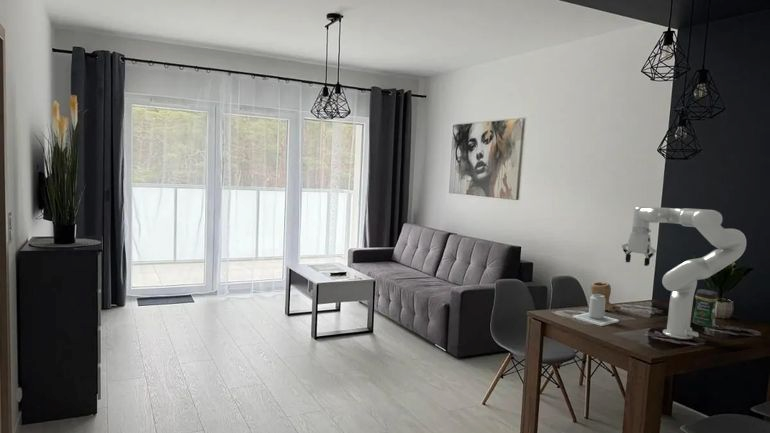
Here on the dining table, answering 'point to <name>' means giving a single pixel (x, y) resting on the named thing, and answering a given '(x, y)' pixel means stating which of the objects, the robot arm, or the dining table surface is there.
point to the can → (597, 306)
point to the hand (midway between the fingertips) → (637, 263)
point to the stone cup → (604, 290)
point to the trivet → (596, 321)
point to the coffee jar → (705, 308)
